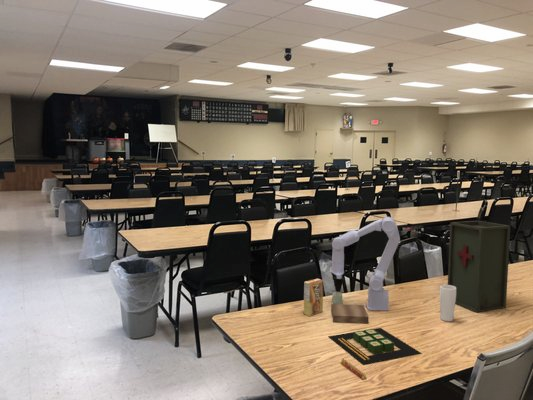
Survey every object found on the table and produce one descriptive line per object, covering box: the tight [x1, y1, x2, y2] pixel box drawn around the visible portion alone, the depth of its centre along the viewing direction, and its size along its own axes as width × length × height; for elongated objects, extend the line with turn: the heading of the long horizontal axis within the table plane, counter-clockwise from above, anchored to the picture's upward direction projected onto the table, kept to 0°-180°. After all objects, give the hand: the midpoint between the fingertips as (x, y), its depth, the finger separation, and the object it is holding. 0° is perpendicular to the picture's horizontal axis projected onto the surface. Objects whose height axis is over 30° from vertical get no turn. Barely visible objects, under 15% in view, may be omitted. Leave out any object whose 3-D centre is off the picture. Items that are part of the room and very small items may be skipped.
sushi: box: [327, 327, 422, 366], centre depth 162 cm, size 25×25×4 cm
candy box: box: [303, 278, 324, 317], centre depth 195 cm, size 9×4×15 cm, turn 129°
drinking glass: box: [439, 284, 456, 322], centre depth 187 cm, size 7×7×15 cm
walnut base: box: [330, 303, 369, 324], centre depth 191 cm, size 15×15×3 cm
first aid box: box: [447, 220, 511, 314], centre depth 206 cm, size 18×18×40 cm
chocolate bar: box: [339, 358, 368, 381], centre depth 142 cm, size 3×12×2 cm, turn 25°
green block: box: [331, 292, 343, 304], centre depth 208 cm, size 4×4×5 cm
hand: (337, 289), depth 207 cm, fingers open, 7 cm apart
